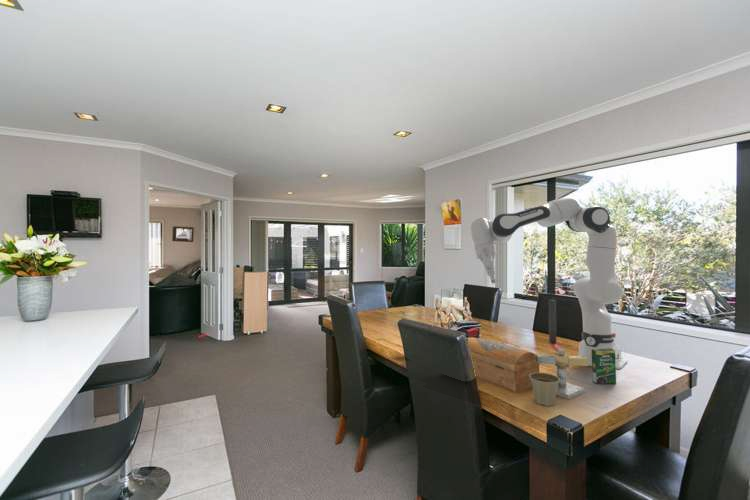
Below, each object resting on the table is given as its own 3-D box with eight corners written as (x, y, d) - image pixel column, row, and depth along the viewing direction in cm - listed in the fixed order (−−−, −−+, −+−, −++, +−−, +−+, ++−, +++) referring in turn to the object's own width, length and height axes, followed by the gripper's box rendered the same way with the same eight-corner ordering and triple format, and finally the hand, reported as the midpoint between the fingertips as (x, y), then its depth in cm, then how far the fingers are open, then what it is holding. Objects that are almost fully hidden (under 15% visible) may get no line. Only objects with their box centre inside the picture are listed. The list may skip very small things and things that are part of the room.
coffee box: (596, 384, 136) (595, 350, 136) (591, 381, 139) (590, 348, 139) (616, 384, 136) (616, 350, 136) (611, 381, 139) (611, 348, 139)
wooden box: (542, 384, 137) (541, 348, 137) (515, 394, 128) (514, 356, 128) (481, 364, 162) (481, 334, 162) (455, 371, 154) (455, 339, 154)
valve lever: (566, 355, 129) (565, 305, 129) (558, 355, 129) (557, 304, 129) (555, 345, 142) (554, 300, 142) (548, 345, 143) (547, 299, 143)
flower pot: (551, 411, 114) (550, 384, 114) (523, 401, 121) (523, 376, 121) (565, 403, 119) (565, 378, 119) (538, 394, 127) (538, 370, 127)
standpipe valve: (554, 381, 140) (553, 348, 140) (591, 392, 128) (590, 356, 128) (533, 388, 132) (532, 353, 132) (570, 401, 121) (570, 363, 121)
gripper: (491, 244, 151) (499, 275, 146) (494, 256, 169) (501, 283, 165) (476, 247, 153) (484, 278, 148) (480, 259, 171) (487, 286, 167)
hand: (493, 281), depth 157 cm, fingers open, 8 cm apart
